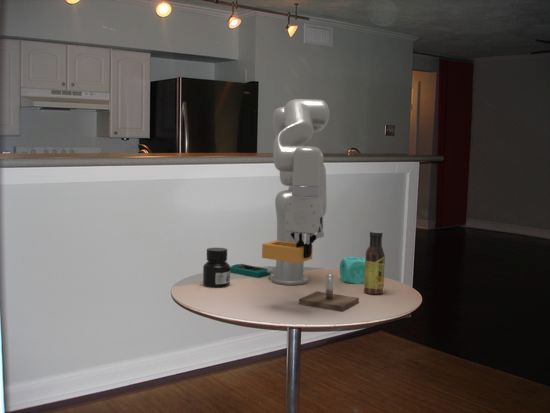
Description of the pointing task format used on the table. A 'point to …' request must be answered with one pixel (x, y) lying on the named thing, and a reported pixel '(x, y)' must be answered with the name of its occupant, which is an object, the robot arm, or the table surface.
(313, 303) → the plate
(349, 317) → the table surface
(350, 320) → the table surface
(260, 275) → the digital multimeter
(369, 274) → the sauce bottle
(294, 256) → the link
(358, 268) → the decorative dice
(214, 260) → the ink bottle
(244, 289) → the table surface
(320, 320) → the table surface
